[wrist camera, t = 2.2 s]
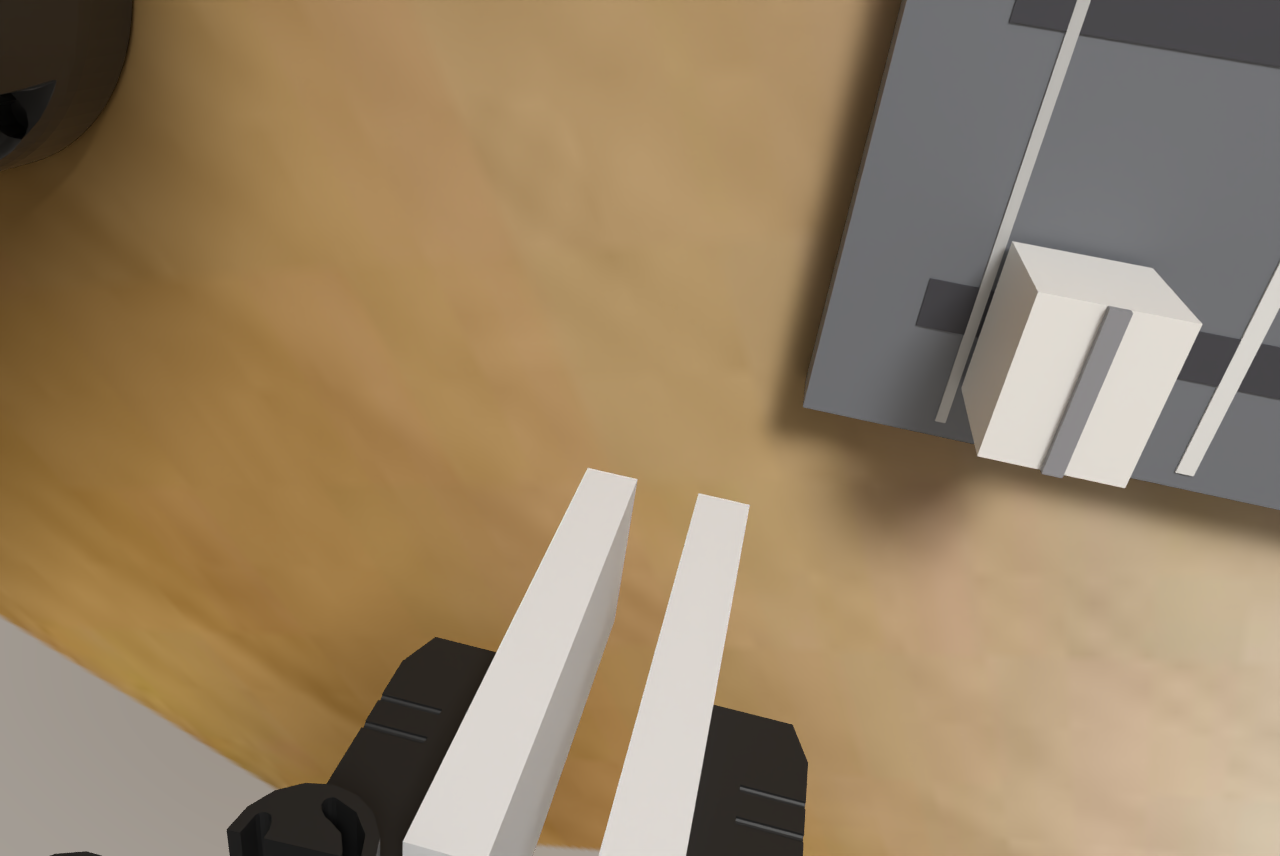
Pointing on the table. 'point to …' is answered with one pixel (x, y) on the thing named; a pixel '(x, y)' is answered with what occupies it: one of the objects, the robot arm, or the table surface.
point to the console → (1069, 210)
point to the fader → (1075, 363)
